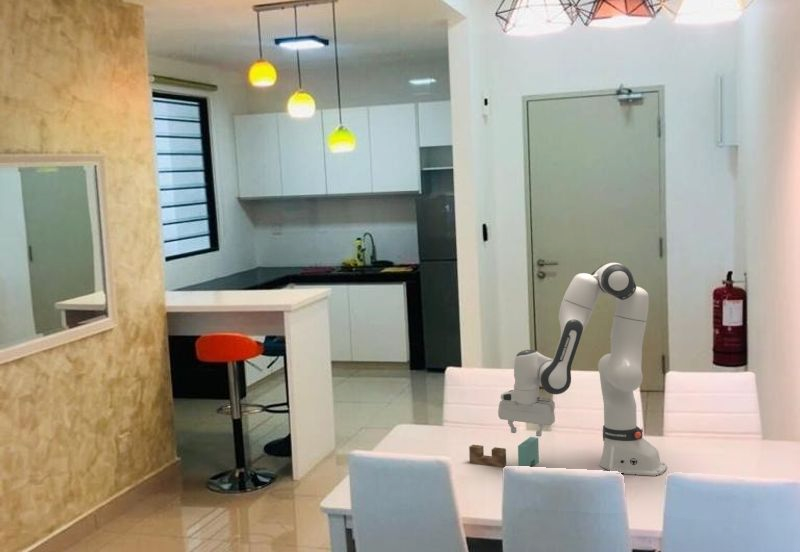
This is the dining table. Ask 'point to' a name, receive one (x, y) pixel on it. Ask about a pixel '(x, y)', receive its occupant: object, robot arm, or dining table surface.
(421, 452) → the dining table surface
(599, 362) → the robot arm
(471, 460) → the stand plate
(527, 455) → the cross plate
